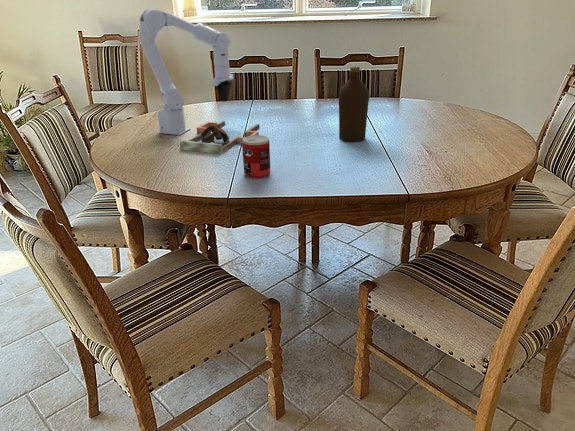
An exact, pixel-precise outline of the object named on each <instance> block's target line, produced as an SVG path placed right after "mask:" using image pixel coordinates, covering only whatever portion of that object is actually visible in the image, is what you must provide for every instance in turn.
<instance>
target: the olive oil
mask: <svg viewBox="0 0 575 431" xmlns="http://www.w3.org/2000/svg"><path fill="white" fill-rule="evenodd" d="M349 68H350V71H349V79H347V81H346V82H344V85H342V86H341V87H340V90H339V92H338V128H339V129H338V135H339V136H338V138H339V140H340V141H343V142H347V143H357V142H362V141H364V140H365V139H366V132H367V124H368V123H367V122H368V114H369V113H368V111H369V103H370V102H369V101H370V92H369V89H368V87H367V86H366V85H365V83H364V82H363V81H362V79H361V78H360V75H361V71H360V68H361V67H360V66H350V67H349Z"/></svg>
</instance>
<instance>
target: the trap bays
mask: <svg viewBox="0 0 575 431" xmlns="http://www.w3.org/2000/svg"><path fill="white" fill-rule="evenodd" d="M217 124H218V122H216V121H207V122H205V123H202V124H200V125H199V126H197V127H196V133H197V134H201V133H202V132H203V131H204V130H205V129H206V128H207V127H209V126H212V125H217ZM246 132H247V136H253V135H260V131H259V130H256V131H247V130H246ZM247 136H237V137H236V138H237V144H242V139H243V138H244V137H247Z"/></svg>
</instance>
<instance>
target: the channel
mask: <svg viewBox="0 0 575 431" xmlns="http://www.w3.org/2000/svg"><path fill="white" fill-rule="evenodd" d="M217 125H219V126H220V127H221V128H223V127H224V126H226V121H224V120H222V121H220V122H219V123H218V122H217ZM258 129H260V124H259V123H256V124H254V125H253V126H251V127H250V128H249V129H247V130H246V131H258ZM246 131H244V132H243V135H244V136H243V137H246V136H247V132H246ZM210 134H212V131H211V130H210V132H208V133H207V134H206V135H205V136H204V137H207V136H209V135H210ZM200 136H201V133H198V134H197V135H196V136H194V137H192V138H190V139H188V140H179V141H178V142H179V150H181V151H182V150H184V151H191V152H201V153H209V154H220V155H222V154H223V153H225V152H226V151H228V150H229V149H231V148H232V147H234V146H235V145H237V144H238V143H237V137H235V138H234V139H232V140H231V141H230V140H229V141H230V142H229V143H227V142H226V144H224V145H223V144H221V143H220V144H219V143H213V142H212V143H203V142H201V138H200Z"/></svg>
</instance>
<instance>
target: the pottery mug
mask: <svg viewBox="0 0 575 431" xmlns="http://www.w3.org/2000/svg"><path fill="white" fill-rule="evenodd" d="M210 130H211V134H209V135H207V136H205V135H206V134H207V133H208V132H210ZM200 134H201V136H200V138H201V139H200V142H203V143H213V144H216V142H215V139H216V141H220V140H223V143H226V144H227V143H229V142H230V138H229V135H228V134H227V132H226V131H225V130H224V129H223V128H222V127H220V126H219V125H212V126H209V127H207V128H206V129H205V130H204V131H203V132H202V133H200ZM204 136H205V137H204Z"/></svg>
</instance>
